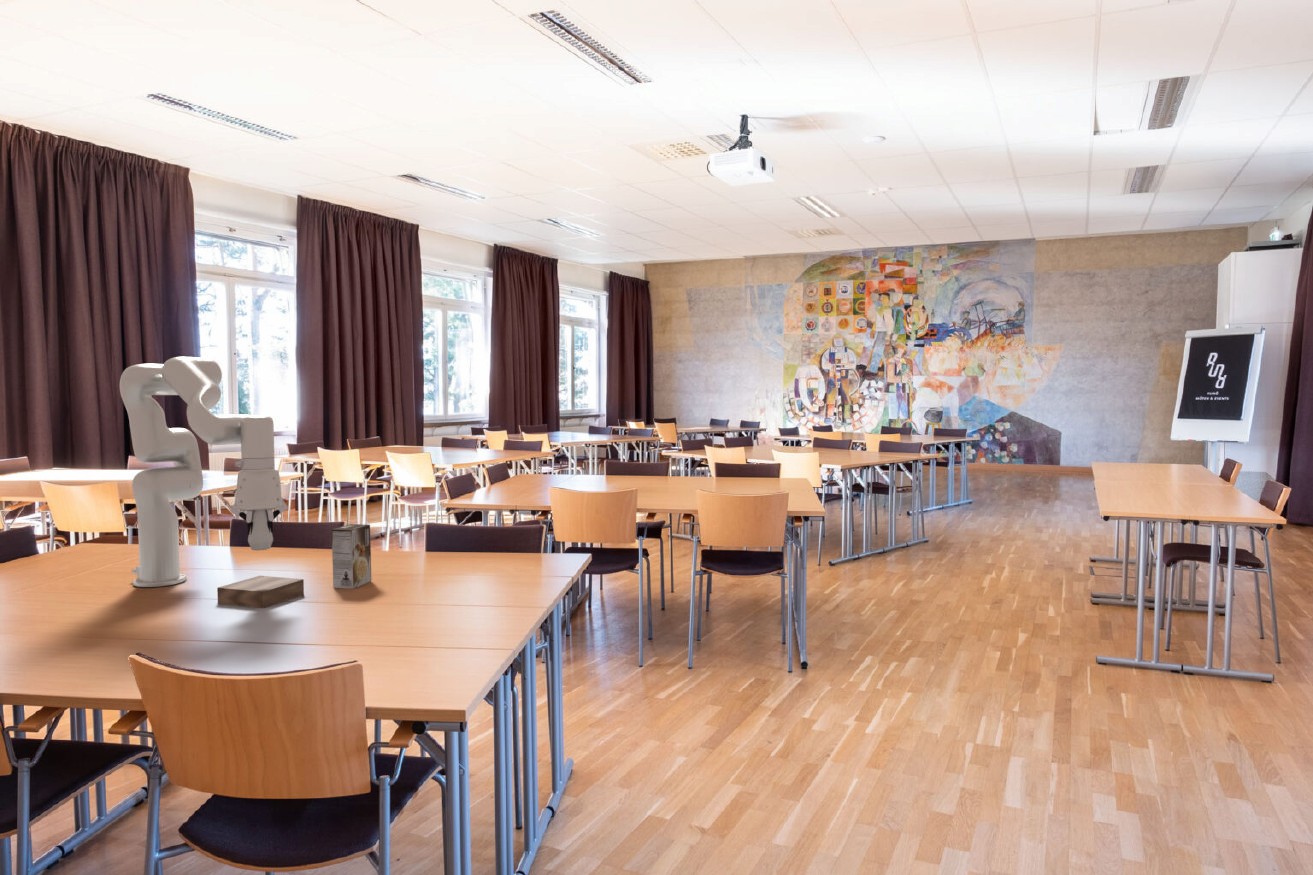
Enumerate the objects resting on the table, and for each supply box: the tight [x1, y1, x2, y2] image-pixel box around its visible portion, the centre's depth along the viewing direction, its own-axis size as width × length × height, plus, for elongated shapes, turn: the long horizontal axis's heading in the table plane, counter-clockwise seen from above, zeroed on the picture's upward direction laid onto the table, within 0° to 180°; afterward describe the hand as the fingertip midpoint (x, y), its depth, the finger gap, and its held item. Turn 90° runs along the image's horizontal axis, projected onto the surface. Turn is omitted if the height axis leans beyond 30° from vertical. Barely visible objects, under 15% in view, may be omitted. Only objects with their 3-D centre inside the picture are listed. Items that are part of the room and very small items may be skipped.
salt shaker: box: [247, 510, 274, 552], centre depth 210 cm, size 6×6×13 cm
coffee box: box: [331, 523, 373, 590], centre depth 226 cm, size 9×6×16 cm
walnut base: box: [216, 575, 305, 609], centre depth 211 cm, size 14×14×4 cm
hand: (260, 536), depth 210 cm, fingers closed on salt shaker, 3 cm apart
